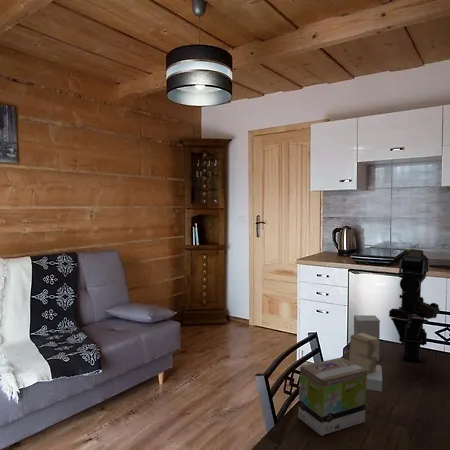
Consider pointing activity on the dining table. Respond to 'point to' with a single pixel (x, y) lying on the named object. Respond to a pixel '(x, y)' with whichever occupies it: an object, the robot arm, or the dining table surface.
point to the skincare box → (368, 327)
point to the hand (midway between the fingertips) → (409, 340)
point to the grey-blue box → (375, 380)
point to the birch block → (364, 351)
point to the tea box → (332, 395)
